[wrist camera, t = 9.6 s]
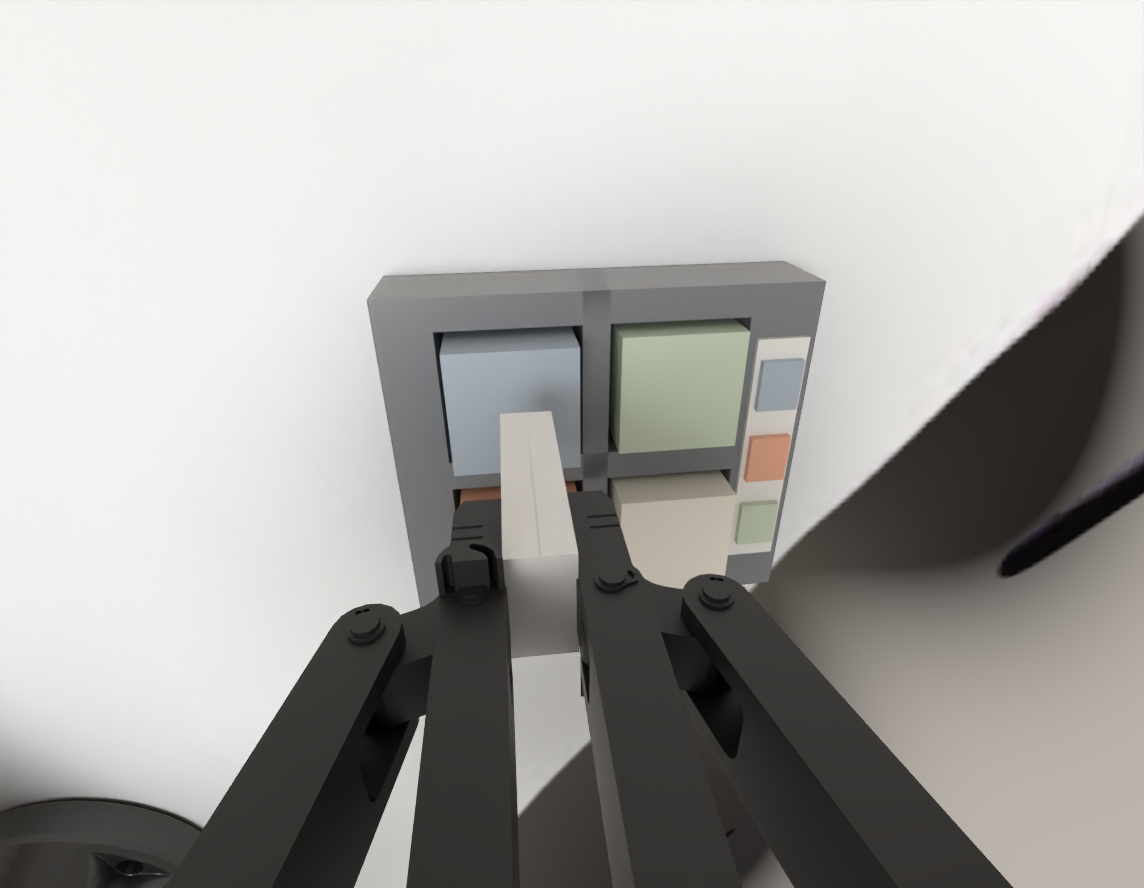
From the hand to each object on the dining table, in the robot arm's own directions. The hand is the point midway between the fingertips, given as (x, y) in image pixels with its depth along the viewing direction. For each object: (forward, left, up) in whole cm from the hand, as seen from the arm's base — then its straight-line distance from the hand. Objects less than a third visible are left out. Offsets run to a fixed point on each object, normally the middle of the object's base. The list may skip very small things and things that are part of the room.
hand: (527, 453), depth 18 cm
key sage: (0, -6, -7) cm, 9 cm away
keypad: (-3, -3, -8) cm, 9 cm away
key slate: (0, 0, -6) cm, 6 cm away
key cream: (-7, -6, -6) cm, 11 cm away
